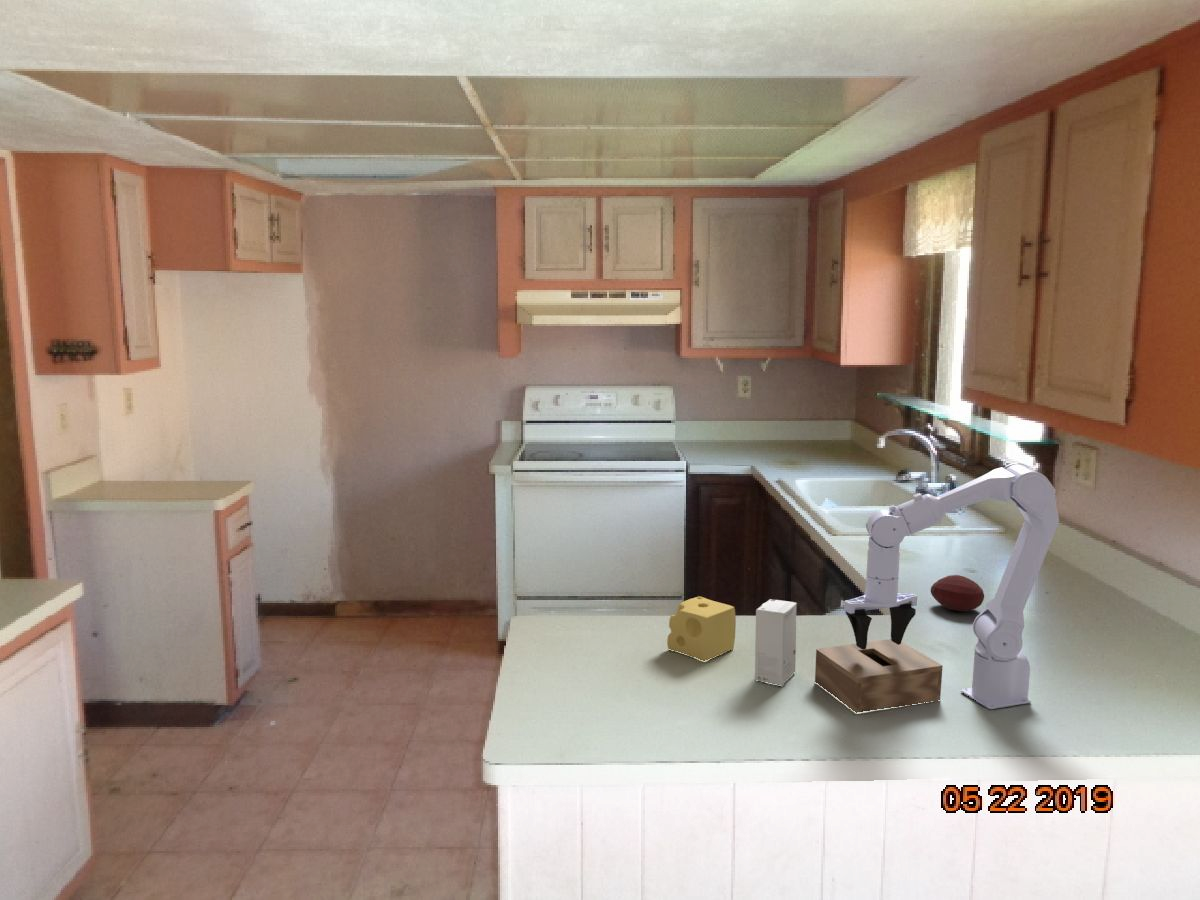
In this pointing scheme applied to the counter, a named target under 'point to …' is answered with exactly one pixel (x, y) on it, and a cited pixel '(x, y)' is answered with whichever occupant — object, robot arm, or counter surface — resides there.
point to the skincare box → (775, 641)
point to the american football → (957, 593)
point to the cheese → (702, 628)
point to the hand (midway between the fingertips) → (878, 645)
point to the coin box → (878, 675)
